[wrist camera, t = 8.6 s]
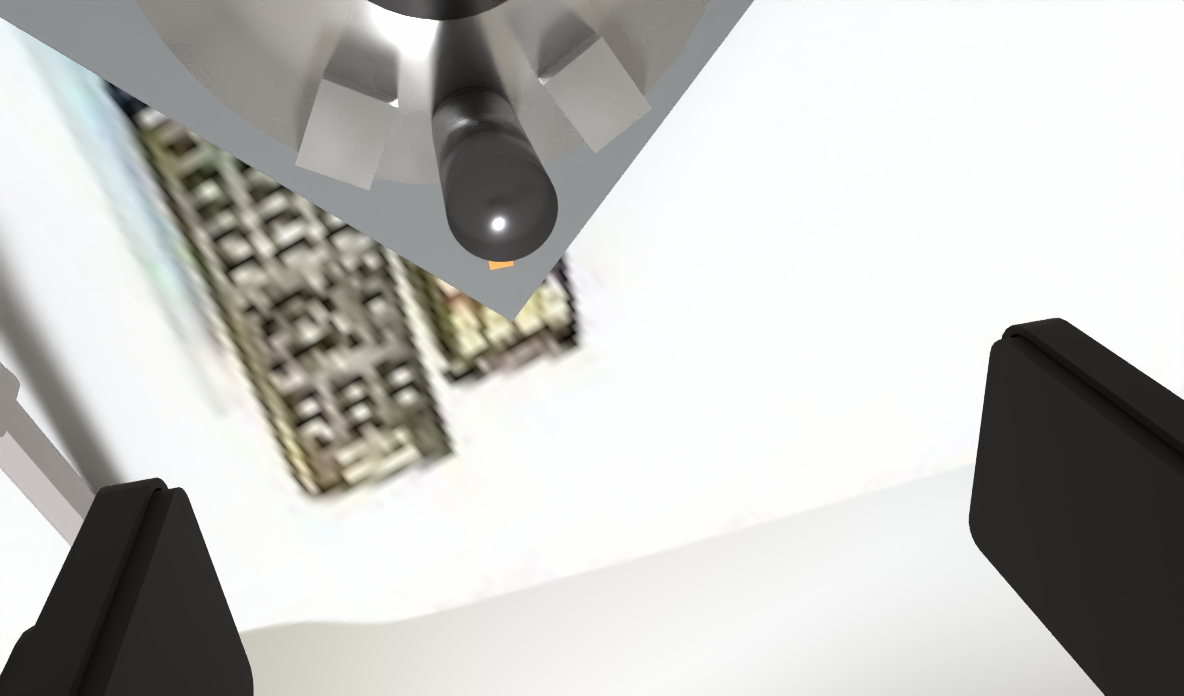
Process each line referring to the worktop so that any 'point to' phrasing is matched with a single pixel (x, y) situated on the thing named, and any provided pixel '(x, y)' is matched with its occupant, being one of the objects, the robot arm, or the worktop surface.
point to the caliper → (39, 465)
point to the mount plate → (389, 209)
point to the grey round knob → (436, 90)
